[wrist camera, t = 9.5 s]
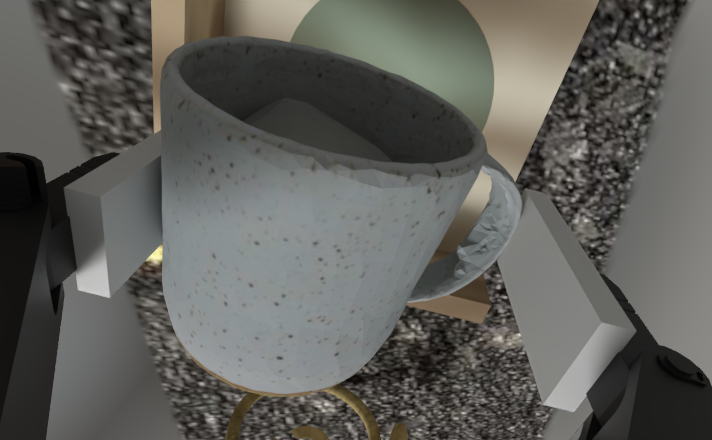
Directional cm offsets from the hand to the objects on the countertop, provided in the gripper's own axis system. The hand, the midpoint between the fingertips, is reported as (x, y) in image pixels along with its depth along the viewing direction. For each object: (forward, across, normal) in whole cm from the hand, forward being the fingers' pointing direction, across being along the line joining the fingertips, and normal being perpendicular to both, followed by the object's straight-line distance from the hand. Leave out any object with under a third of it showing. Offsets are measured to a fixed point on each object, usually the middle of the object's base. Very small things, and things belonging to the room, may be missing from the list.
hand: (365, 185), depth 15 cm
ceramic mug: (+1, 0, 0) cm, 1 cm away
